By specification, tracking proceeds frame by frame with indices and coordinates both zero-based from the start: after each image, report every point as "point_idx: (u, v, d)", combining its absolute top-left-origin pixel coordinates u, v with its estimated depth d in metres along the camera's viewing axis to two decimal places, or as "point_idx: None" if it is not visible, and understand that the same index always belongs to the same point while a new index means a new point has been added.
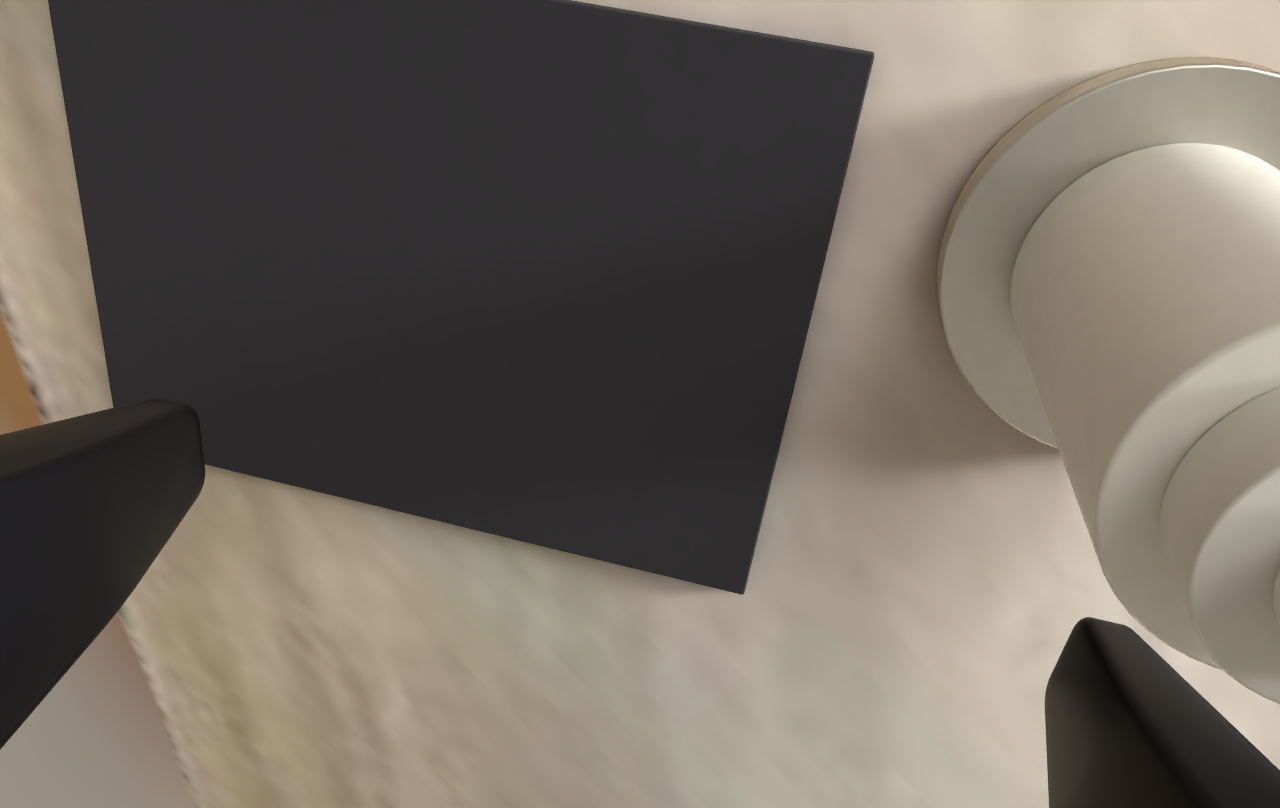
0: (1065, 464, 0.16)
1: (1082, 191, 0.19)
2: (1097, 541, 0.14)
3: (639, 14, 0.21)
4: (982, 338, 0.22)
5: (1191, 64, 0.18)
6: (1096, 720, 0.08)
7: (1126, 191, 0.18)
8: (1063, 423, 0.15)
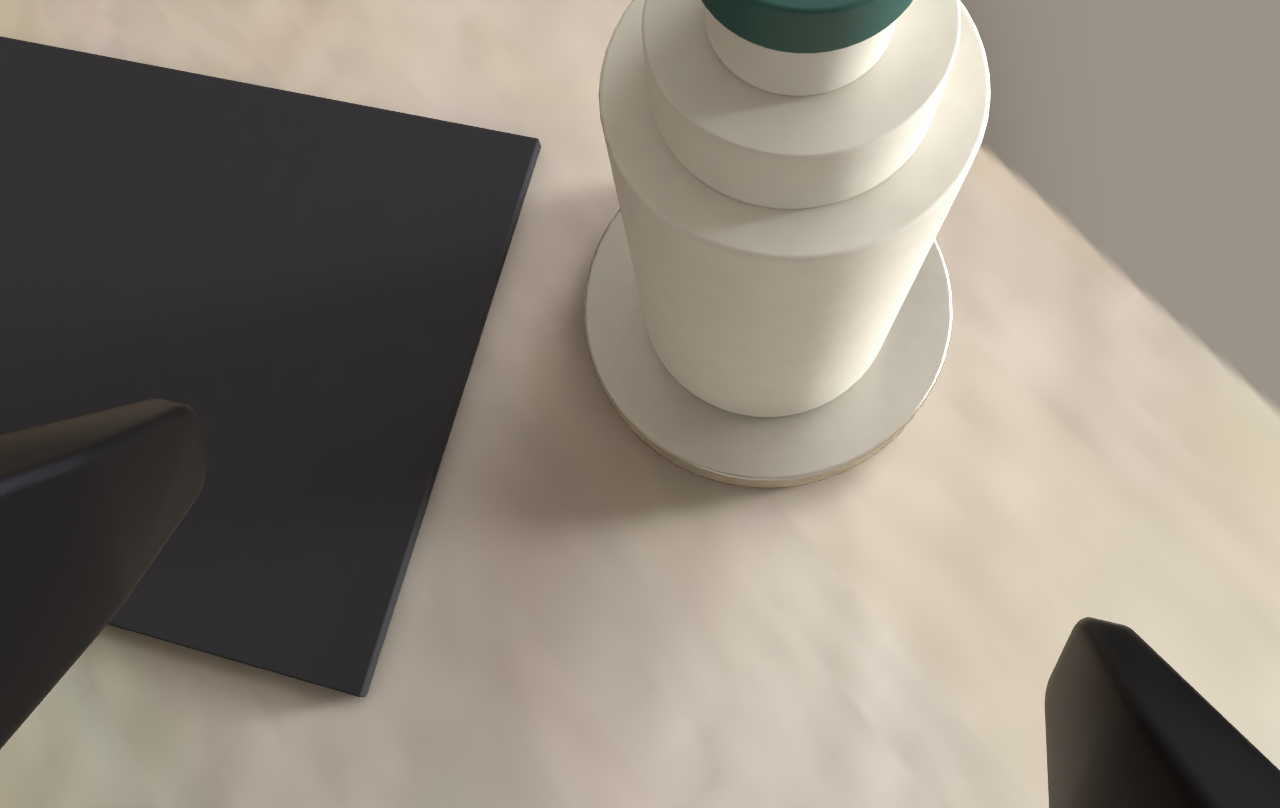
0: None
1: None
2: (602, 121, 0.15)
3: None
4: (621, 350, 0.23)
5: None
6: (1096, 720, 0.08)
7: None
8: None
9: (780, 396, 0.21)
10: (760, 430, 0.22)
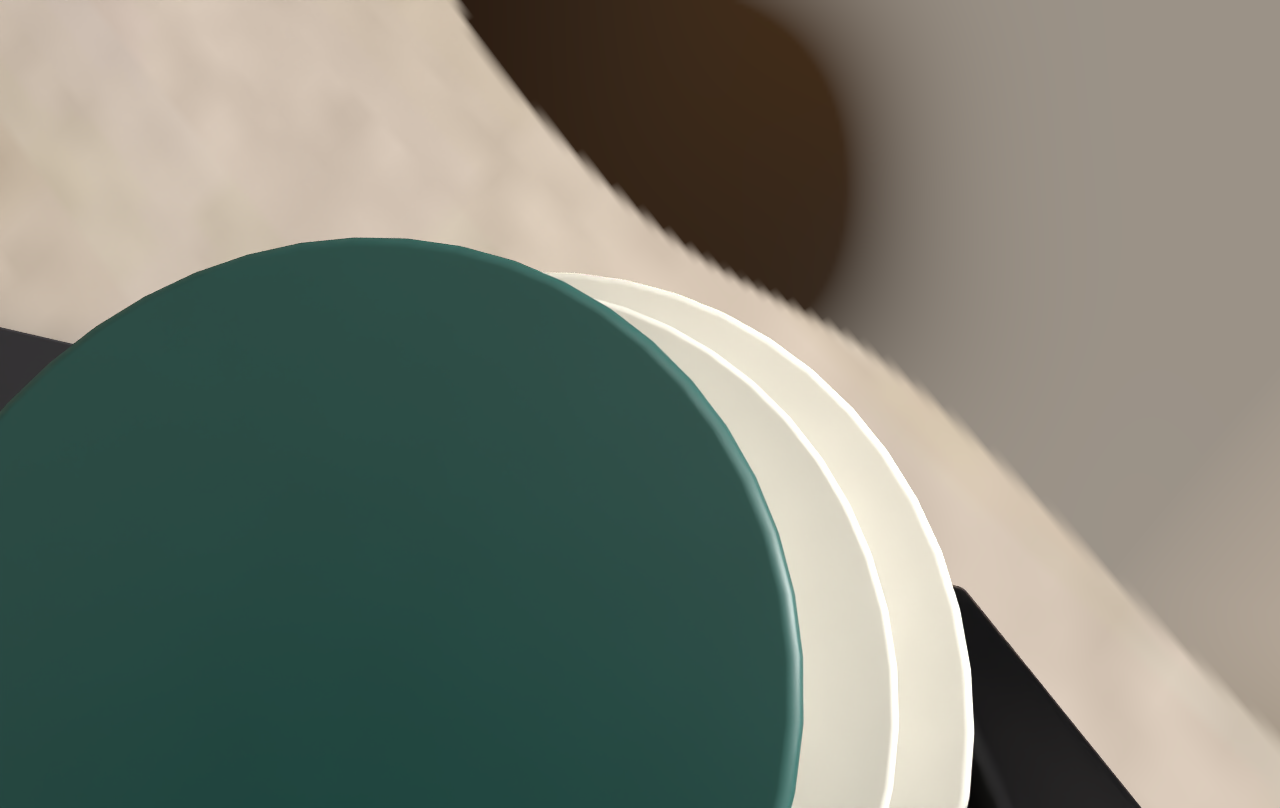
0: None
1: None
2: None
3: None
4: None
5: None
6: None
7: None
8: None
9: None
10: None
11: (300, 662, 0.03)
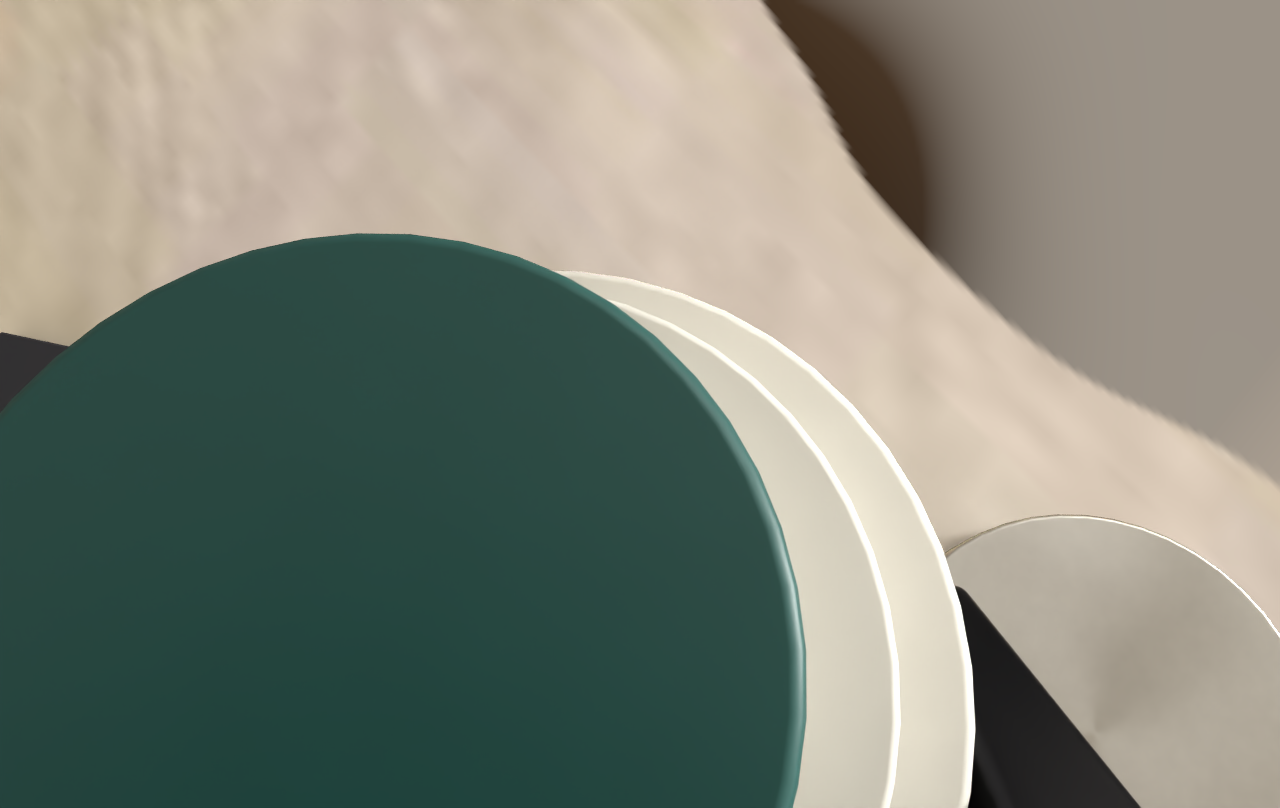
0: None
1: None
2: None
3: None
4: None
5: None
6: None
7: None
8: None
9: None
10: None
11: (304, 656, 0.03)
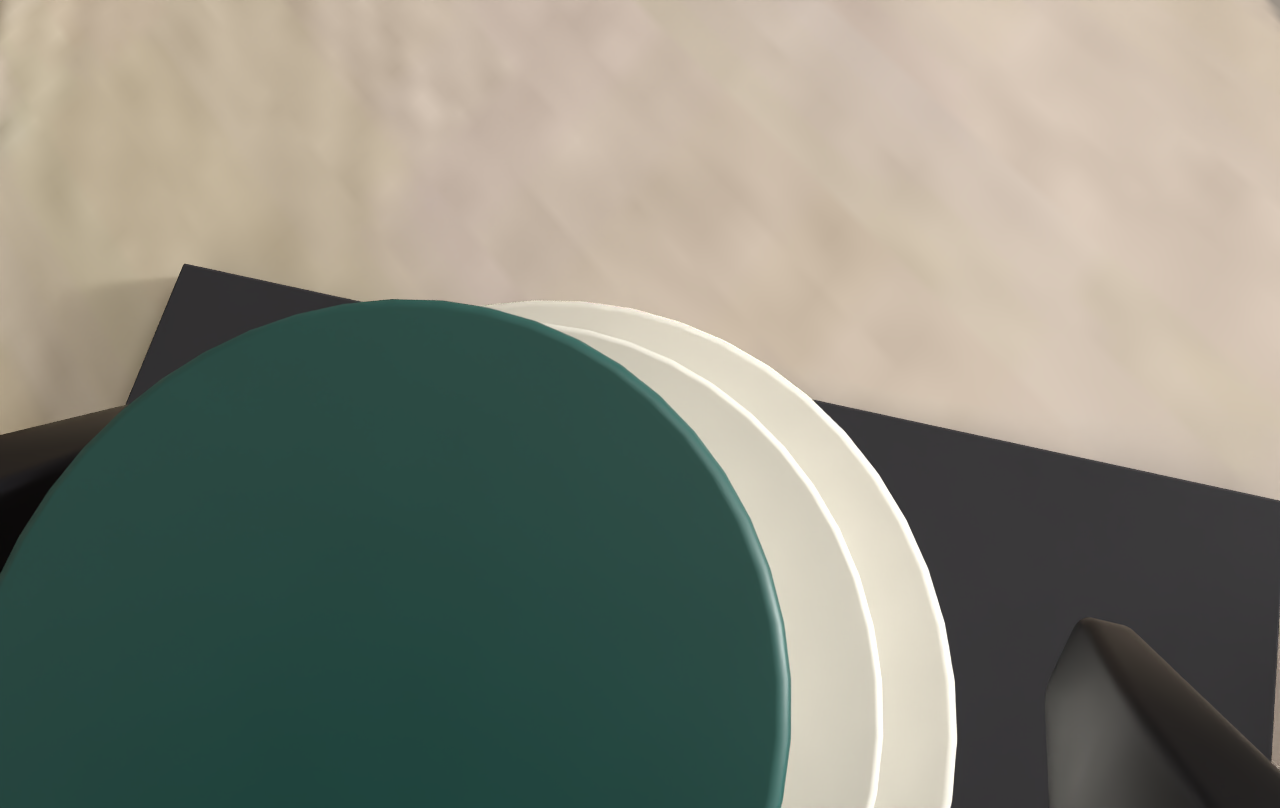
0: None
1: None
2: None
3: (971, 434, 0.16)
4: None
5: None
6: (1096, 720, 0.08)
7: None
8: None
9: None
10: None
11: (348, 682, 0.03)
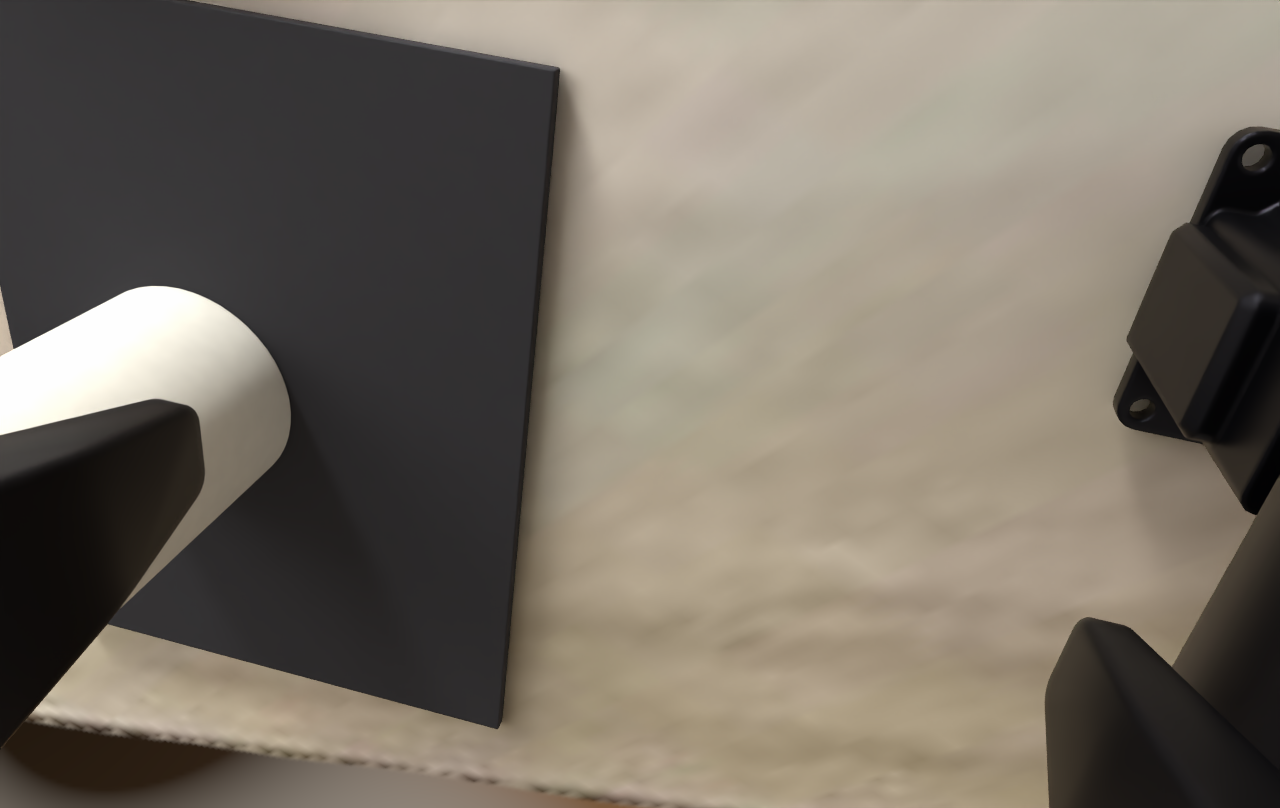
0: None
1: None
2: None
3: None
4: None
5: None
6: (1096, 720, 0.08)
7: None
8: None
9: (247, 413, 0.24)
10: None
11: None
